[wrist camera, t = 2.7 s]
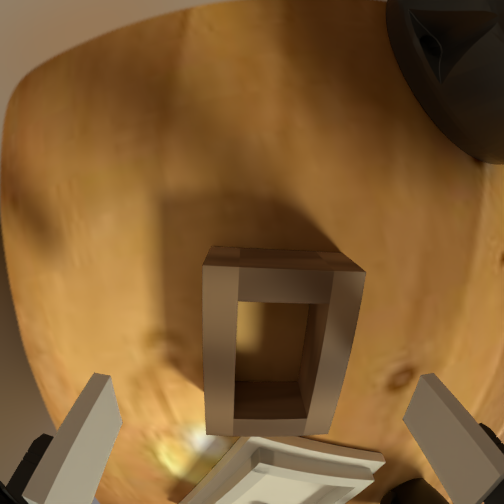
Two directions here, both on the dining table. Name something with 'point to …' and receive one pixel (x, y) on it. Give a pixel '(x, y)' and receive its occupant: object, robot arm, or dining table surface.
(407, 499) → the mug
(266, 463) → the white flat rectangular tray
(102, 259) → the dining table surface
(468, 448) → the robot arm
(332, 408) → the frame
